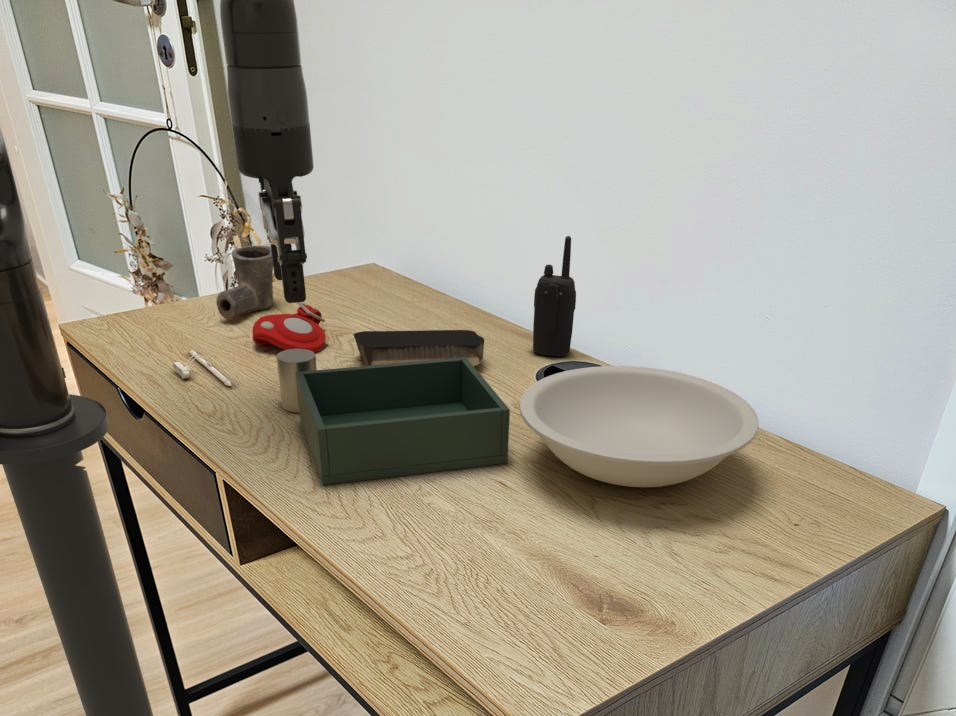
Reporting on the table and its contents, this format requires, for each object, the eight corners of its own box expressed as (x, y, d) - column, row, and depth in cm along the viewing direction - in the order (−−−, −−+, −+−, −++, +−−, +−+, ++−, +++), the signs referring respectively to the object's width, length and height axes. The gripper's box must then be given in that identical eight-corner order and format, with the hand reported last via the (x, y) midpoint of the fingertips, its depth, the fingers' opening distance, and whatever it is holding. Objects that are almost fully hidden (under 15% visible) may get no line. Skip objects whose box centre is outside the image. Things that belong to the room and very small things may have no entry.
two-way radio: (573, 351, 121) (583, 234, 112) (567, 362, 118) (577, 242, 109) (533, 347, 122) (540, 230, 113) (527, 358, 119) (533, 239, 110)
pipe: (210, 321, 128) (201, 263, 123) (255, 297, 138) (248, 242, 133) (248, 327, 126) (240, 268, 122) (290, 302, 136) (284, 246, 131)
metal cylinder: (284, 414, 102) (278, 363, 99) (280, 400, 106) (274, 350, 102) (322, 410, 103) (318, 360, 100) (316, 396, 107) (312, 347, 103)
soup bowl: (548, 533, 82) (554, 469, 78) (495, 427, 101) (497, 370, 97) (786, 514, 86) (803, 451, 82) (692, 415, 105) (702, 360, 101)
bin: (322, 485, 89) (317, 429, 85) (300, 423, 100) (295, 371, 97) (507, 463, 94) (510, 409, 90) (465, 406, 105) (466, 356, 102)
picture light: (233, 387, 108) (231, 370, 107) (199, 394, 106) (196, 377, 105) (193, 353, 117) (190, 337, 116) (161, 359, 115) (157, 342, 114)
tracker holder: (332, 346, 117) (255, 332, 114) (326, 374, 120) (251, 362, 117) (326, 298, 125) (254, 284, 121) (321, 326, 128) (250, 313, 125)
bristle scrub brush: (359, 377, 112) (357, 348, 110) (356, 353, 119) (355, 326, 116) (486, 373, 114) (487, 345, 112) (477, 350, 121) (477, 323, 119)
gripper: (225, 111, 91) (248, 274, 101) (238, 131, 80) (262, 312, 90) (298, 109, 93) (314, 270, 103) (320, 129, 82) (335, 307, 92)
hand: (290, 290), depth 97 cm, fingers open, 8 cm apart
